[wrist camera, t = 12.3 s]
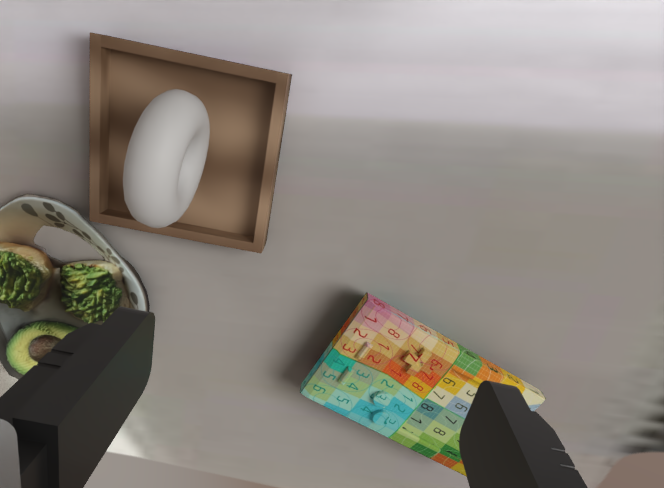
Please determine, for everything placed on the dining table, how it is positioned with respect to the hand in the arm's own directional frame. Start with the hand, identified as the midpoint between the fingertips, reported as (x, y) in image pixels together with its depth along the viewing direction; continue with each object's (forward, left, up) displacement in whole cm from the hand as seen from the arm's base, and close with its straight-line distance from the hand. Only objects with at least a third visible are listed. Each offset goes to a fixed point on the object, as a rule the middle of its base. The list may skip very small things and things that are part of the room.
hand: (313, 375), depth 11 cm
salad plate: (+18, -24, -29) cm, 41 cm away
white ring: (+1, -12, -28) cm, 30 cm away
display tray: (+1, -12, -29) cm, 31 cm away
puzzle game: (+19, +12, -29) cm, 37 cm away
